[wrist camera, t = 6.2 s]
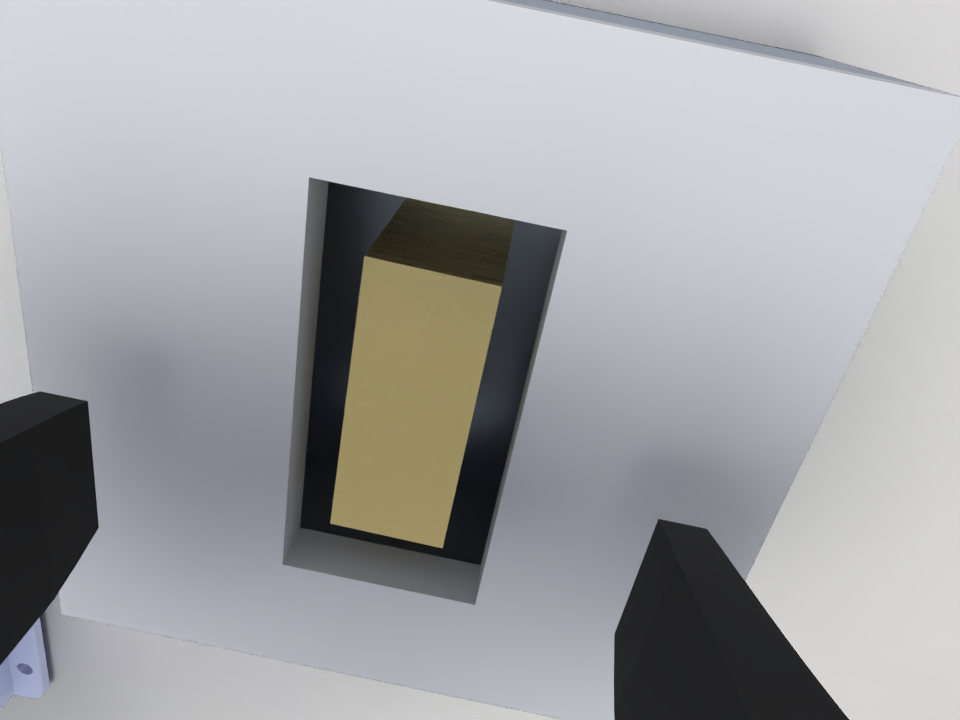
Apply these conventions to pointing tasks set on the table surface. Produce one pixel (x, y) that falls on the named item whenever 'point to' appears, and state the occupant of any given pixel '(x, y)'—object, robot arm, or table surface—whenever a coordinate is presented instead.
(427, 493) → the block
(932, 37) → the table surface
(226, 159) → the coin box
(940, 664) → the table surface
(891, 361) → the table surface
